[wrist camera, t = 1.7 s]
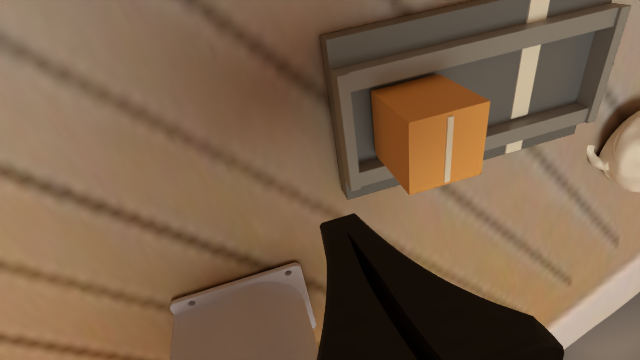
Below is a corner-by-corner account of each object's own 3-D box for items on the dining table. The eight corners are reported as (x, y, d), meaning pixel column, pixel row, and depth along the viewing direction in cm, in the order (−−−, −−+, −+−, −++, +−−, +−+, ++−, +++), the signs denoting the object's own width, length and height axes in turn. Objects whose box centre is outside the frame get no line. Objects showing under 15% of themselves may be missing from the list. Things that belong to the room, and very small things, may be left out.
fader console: (341, 189, 24) (353, 210, 22) (319, 35, 18) (333, 45, 17) (560, 126, 26) (588, 140, 24) (600, -28, 21) (641, -26, 19)
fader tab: (375, 154, 21) (410, 196, 18) (370, 90, 19) (409, 123, 16) (436, 137, 22) (482, 174, 18) (438, 73, 20) (491, 101, 16)
